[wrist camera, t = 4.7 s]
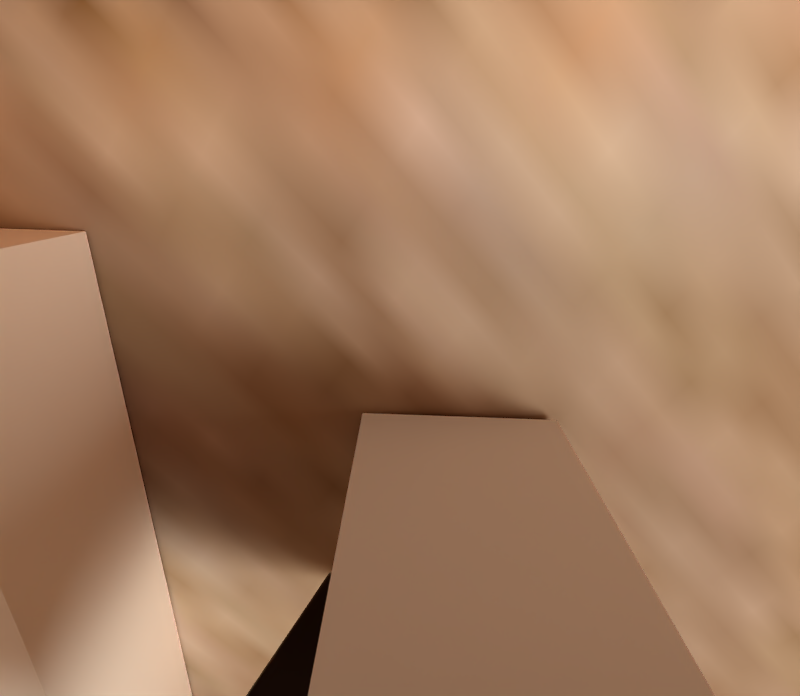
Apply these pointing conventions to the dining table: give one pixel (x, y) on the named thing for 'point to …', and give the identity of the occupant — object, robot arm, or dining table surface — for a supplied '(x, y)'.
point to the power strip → (72, 492)
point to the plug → (487, 572)
